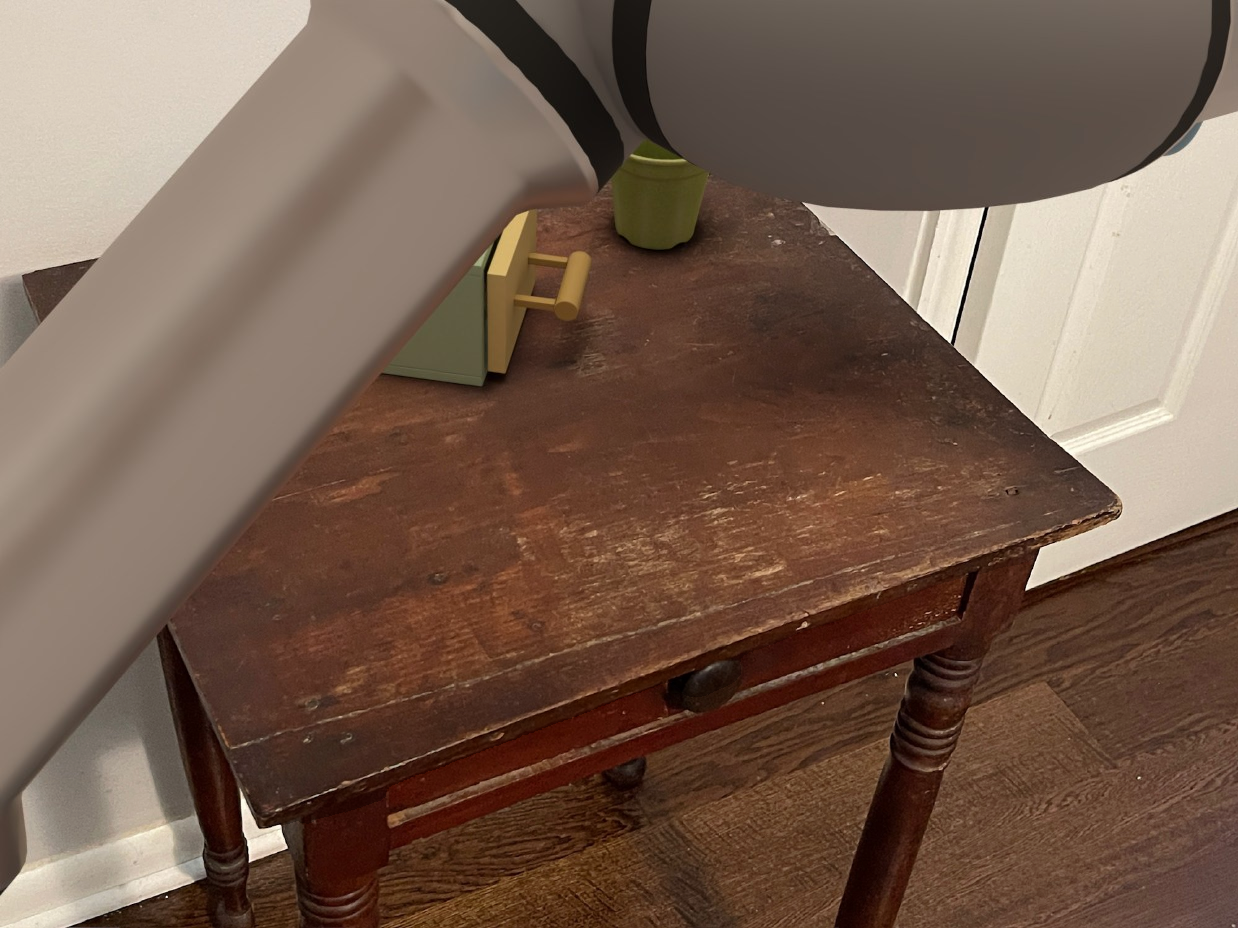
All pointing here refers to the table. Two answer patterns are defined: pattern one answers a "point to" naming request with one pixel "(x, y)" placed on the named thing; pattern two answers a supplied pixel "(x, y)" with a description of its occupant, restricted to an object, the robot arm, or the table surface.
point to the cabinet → (451, 336)
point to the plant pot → (657, 197)
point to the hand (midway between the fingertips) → (549, 10)
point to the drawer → (524, 286)
